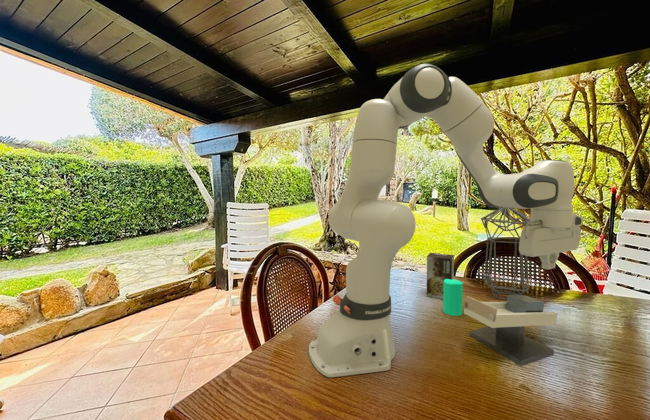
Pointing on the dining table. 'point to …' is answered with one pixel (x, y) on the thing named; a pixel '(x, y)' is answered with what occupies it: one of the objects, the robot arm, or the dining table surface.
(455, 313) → the candle
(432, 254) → the coffee box
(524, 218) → the geometric lantern
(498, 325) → the beam
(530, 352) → the pivot stand
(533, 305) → the block
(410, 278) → the dining table surface
